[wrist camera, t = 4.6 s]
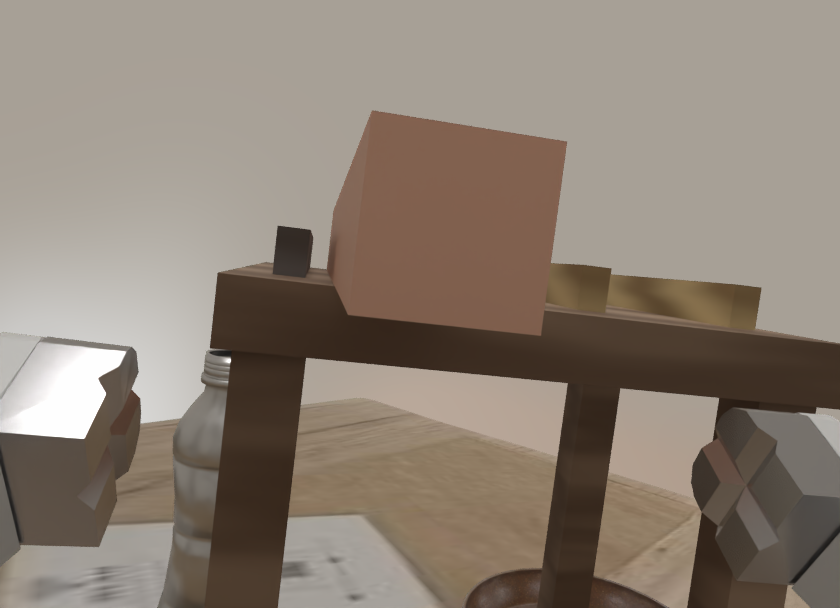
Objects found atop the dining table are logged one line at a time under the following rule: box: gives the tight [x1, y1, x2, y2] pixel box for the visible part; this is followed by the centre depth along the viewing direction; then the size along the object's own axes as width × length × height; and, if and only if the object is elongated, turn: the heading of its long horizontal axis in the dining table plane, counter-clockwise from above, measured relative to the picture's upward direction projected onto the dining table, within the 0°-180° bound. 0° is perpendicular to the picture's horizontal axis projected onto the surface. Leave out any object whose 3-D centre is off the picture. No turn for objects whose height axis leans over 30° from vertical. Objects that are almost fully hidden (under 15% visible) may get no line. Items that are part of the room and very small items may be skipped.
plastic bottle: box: [157, 349, 232, 608], centre depth 41 cm, size 6×7×20 cm
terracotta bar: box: [327, 111, 567, 336], centre depth 22 cm, size 24×3×3 cm, turn 9°
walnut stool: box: [204, 226, 840, 608], centre depth 27 cm, size 16×19×28 cm
